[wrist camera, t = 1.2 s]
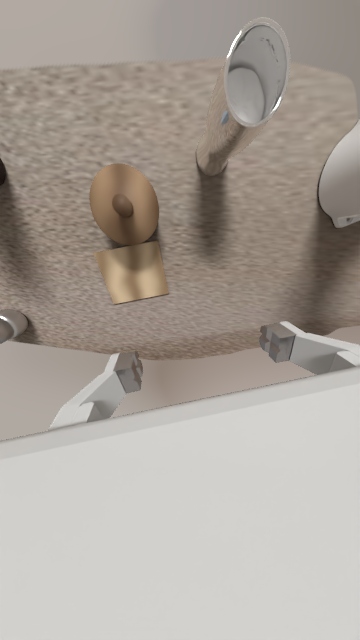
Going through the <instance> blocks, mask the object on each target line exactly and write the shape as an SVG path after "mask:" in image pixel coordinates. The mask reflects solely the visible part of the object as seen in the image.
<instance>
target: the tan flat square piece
mask: <svg viewBox="0 0 360 640" xmlns="http://www.w3.org/2000/svg"><path fill="white" fill-rule="evenodd" d="M94 256H95V258H96V261H97V263H98V266H99V268H100V271H101V273H102V276H103V278H104V281H105V283H106V286H107V288H108V291H109V293H110V296H111V298H112V301H113V303H114V304H118V303H123V302H128V301H133V300H138V299H143V298H148V297H153V296H158V295H163V294H169V292H168V287H167V282H166V277H165V273H164V268H163V263H162V259H161V254H160V249H159V244H158V241H153V242H148V243H142V244H137V245H132V246H127V247H122V248H116V249H111V250H106V251H101V252H95V253H94Z"/></svg>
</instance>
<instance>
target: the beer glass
mask: <svg viewBox="0 0 360 640" xmlns="http://www.w3.org/2000/svg"><path fill="white" fill-rule="evenodd" d="M289 74H290V52H289V46H288V42H287V39H286V36H285V34H284V32H283V30H282V29H281V27H280V26H279V25H278V24H277V23H276V22H275V21H273V20H271V19H269V18H257V19H255V20H252V21H251V22H249V23H248V24H247V25H245V26H244V27H243V28H242V30H241V31H240V32H239V33H238V35H237V36H236V38H235V40H234V42H233V44H232V46H231V49H230V51H229V54H228V56H227V59H226V61H225V63H224V65H223V67H222V70H221V72H220V74H219V77H218V79H217V82H216V85H215V87H214V90H213V93H212V97H211V100H210V103H209V108H208V113H207V119H206V127H205V133H204V134H203V135H202V136H201V138H200V140H199V142H198V145H197V149H196V159H197V163H198V166H199V168H200V169H201V171H202V172H203V173H204V174H206V175H209V176H214V175H217V174H219V173H220V172H221V171H222V170H223V169H224V168H225V166H226V164H227V162H228V160H229V159H230V158H232V157H234V156H236V155H237V154H239V153H240V152H241V151H243V150H244V149H245V148H246V147H247V146H248V145H249V144H250V143H251V142H252V141H253V140H254V139H255V138H256V137H257V135H258V134H259V133H260V132H261V130H262V129H263V128H264V126H265V125H266V124H267V122H268V121H269V120H270V118H271V117H272V116H273V115H274V114H275V112H276V111H277V109H278V108H279V106H280V104H281V102H282V100H283V98H284V95H285V92H286V89H287V85H288V81H289Z"/></svg>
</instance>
